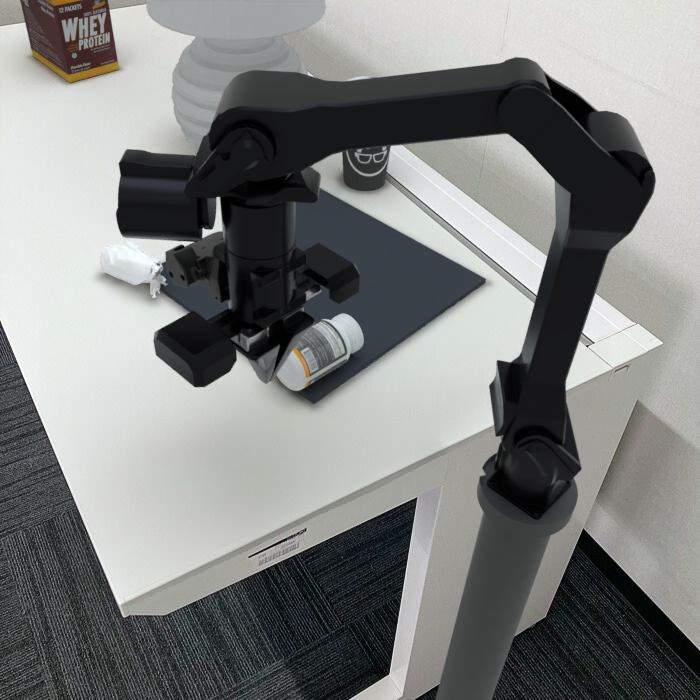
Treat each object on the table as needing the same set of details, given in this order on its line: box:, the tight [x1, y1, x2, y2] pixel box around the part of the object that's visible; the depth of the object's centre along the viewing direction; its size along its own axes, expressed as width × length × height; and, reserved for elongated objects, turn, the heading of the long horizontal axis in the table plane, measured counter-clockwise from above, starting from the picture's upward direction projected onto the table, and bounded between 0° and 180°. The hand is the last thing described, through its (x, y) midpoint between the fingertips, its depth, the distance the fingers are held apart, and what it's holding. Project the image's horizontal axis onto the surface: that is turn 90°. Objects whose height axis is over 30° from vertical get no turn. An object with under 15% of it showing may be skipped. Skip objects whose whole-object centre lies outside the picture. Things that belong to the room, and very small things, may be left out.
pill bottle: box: [276, 314, 364, 392], centre depth 89 cm, size 6×6×10 cm
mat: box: [159, 187, 487, 404], centre depth 104 cm, size 32×32×1 cm
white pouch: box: [99, 240, 167, 299], centre depth 100 cm, size 5×7×10 cm
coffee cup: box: [341, 75, 392, 192], centre depth 119 cm, size 10×10×15 cm
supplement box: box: [19, 0, 120, 83], centre depth 146 cm, size 10×15×16 cm
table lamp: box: [145, 0, 327, 151], centre depth 115 cm, size 25×25×40 cm
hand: (265, 379), depth 73 cm, fingers closed
